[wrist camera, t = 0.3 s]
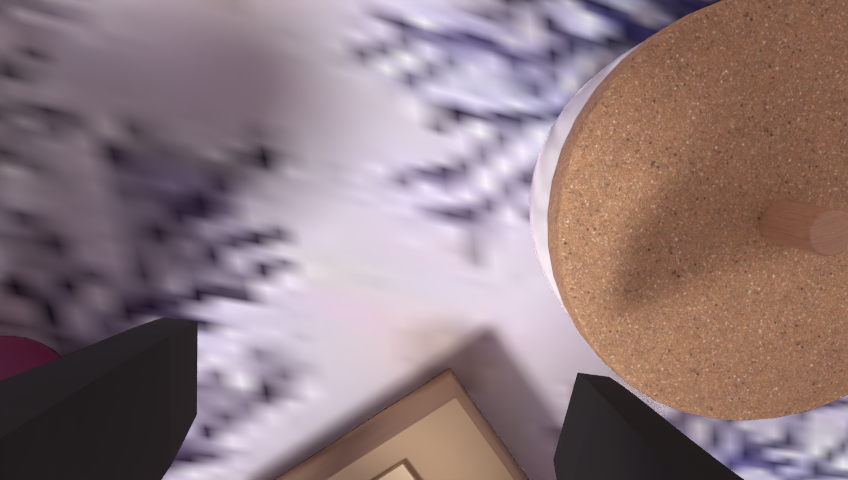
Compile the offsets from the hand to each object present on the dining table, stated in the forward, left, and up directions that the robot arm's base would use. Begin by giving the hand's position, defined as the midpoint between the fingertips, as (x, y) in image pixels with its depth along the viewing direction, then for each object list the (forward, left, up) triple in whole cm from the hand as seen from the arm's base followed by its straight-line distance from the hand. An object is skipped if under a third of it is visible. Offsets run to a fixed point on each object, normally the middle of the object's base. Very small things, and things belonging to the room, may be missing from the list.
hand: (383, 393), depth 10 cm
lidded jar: (+9, -3, -11) cm, 15 cm away
